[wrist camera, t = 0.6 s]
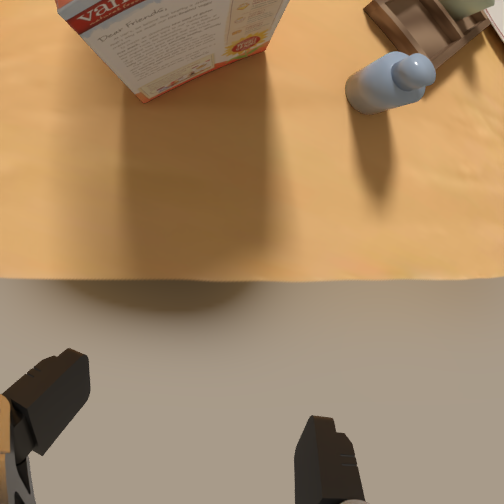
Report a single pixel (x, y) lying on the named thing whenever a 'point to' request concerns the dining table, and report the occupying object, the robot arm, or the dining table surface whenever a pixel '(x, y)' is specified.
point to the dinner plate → (497, 17)
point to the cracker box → (171, 36)
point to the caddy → (425, 27)
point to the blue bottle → (390, 82)
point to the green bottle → (465, 7)
